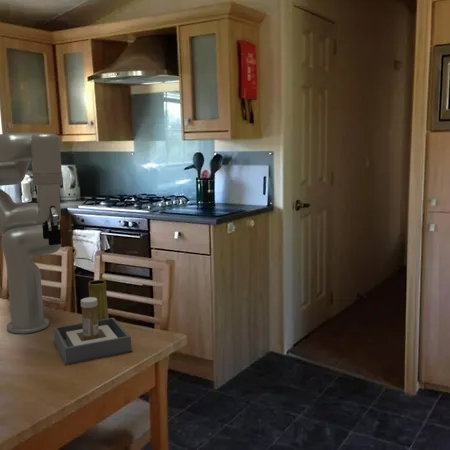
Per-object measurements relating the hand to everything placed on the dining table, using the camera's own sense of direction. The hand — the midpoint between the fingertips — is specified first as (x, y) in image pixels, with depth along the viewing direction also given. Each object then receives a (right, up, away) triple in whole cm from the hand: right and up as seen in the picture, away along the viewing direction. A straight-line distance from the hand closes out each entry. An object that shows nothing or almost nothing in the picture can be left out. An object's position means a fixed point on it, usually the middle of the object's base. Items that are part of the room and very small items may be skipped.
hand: (52, 241), depth 150 cm
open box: (+10, -30, +3) cm, 32 cm away
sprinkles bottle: (+10, -30, +4) cm, 31 cm away
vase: (+8, -27, +20) cm, 35 cm away
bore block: (+10, -30, +3) cm, 32 cm away
